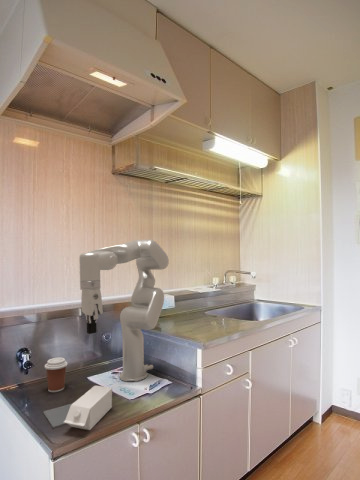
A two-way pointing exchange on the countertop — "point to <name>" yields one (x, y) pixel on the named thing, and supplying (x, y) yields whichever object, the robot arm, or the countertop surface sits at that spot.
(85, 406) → the milk carton
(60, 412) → the mat
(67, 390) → the countertop surface
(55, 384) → the coffee cup
